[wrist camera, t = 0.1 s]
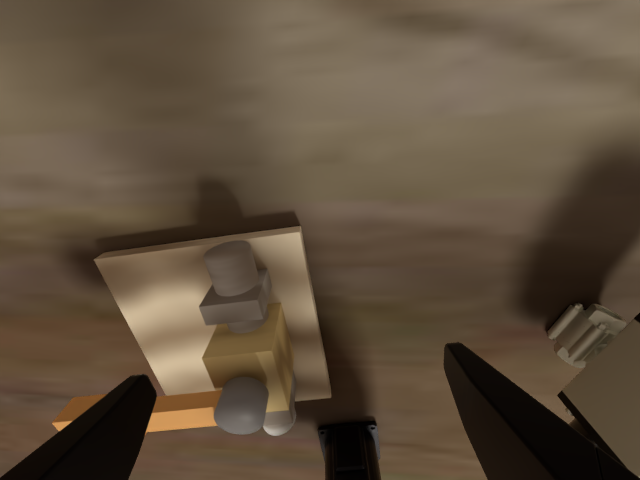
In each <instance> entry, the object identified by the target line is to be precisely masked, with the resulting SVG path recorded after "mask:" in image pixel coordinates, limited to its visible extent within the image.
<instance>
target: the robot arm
mask: <svg viewBox="0 0 640 480" xmlns="http://www.w3.org/2000/svg"><path fill="white" fill-rule="evenodd" d="M444 370H445V374H446V376H447V379H448V382H449V385H450V388H451V391H452V394H453V397H454V400H455V403H456V406H457V409H458V412H459V414H460V417H461V420H462V423H463V426H464V428H465V431H466V433H467V435H468V438H469V440H470V442H471V444H472V446H473V448H474V451H475V453H476V455H477V457H478V459H479V462H480V464H481V466H482V468H483V470H484V472H485V475H486V477H487V479H488V480H640V478H639V477H638V476H637V475H635V474H634V473H632V472H631V471H630V470H628V469H627V468H626V467H624V466H623V465H622V464H620V463H619V462H618V461H616V460H615V459H614V458H612V457H611V456H610V455H608V454H607V453H606V452H604V451H603V450H602V449H600V448H599V447H595V445H594V443H592V442H591V441H590V440H588V439H587V438H586V437H584V436H583V435H582V434H580V433H579V432H578V431H576V430H575V429H574V428H573V427H571V426H570V425H569V424H567V423H566V422H565V421H563V420H562V419H561V418H559V417H558V416H557V415H555V414H554V413H553V412H551V411H550V410H549V409H547V408H546V407H545V406H544V405H542V404H541V403H540V402H538V401H537V400H536V399H534V398H533V397H532V396H530V395H529V394H528V393H526V392H525V391H524V390H522V389H521V388H520V387H518V386H517V385H516V384H515V383H513V382H512V381H511V380H509V379H508V378H507V377H505V376H504V375H503V374H501V373H500V372H499V371H497V370H496V369H495V368H493V367H492V366H491V365H489V364H488V363H487V362H486V361H484V360H483V359H482V358H480V357H479V356H478V355H476V354H475V353H474V352H472V351H471V350H470V349H468V348H467V347H466V346H464V345H463V344H462V343H459V342H457V343H447V344H446V345H445V348H444ZM156 397H157V394H156V390H155V388H154V387H153V385H152V383H151V381H150V379H149V377H148V376H147V375H146V374H139V375H132V376H130V377H129V378H127V379H126V380H125V381H123V382H122V383H121V384H120V385H118V386H117V387H116V388H114V389H113V390H112V391H111V392H109V393H108V394H107V395H105V396H104V397H103V398H102V399H100V400H99V401H98V402H97V403H95V404H94V405H93V406H91V407H90V408H89V409H88V410H86V411H85V412H84V413H82V414H81V415H80V416H79V417H77V418H76V419H75V420H73V421H72V422H71V423H70V424H68V425H67V426H66V427H65V428H63V429H62V430H61V431H59V432H58V433H57V434H56V435H54V436H53V437H52V438H50V439H49V440H48V441H47V442H45V443H44V444H43V445H41V446H40V447H39V448H38V449H36V450H35V451H34V452H32V453H31V454H30V455H29V456H27V457H26V458H25V459H24V460H22V461H21V462H20V463H18V464H17V465H16V466H15V467H13V468H12V469H11V470H9V471H8V472H7V473H6V474H4V475H3V476H2V477H0V480H128V479H129V476H130V474H131V471H132V469H133V467H134V464H135V462H136V459H137V457H138V454H139V451H140V448H141V446H142V442H143V439H144V436H145V433H146V430H147V427H148V424H149V421H150V418H151V415H152V411H153V408H154V405H155V402H156ZM318 435H319V439H320V444H321V448H322V452H323V456H324V461H325V480H381V476H380V469H379V463H378V460H379V459H380V450H379V439H378V429H377V424H376V423H375V422H363V423H352V424H341V425H331V426H321V427H319V428H318Z"/></svg>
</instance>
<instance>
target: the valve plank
mask: <svg viewBox="0 0 640 480" xmlns="http://www.w3.org/2000/svg"><path fill="white" fill-rule="evenodd" d="M94 261H95V263H96V265H97V267H98V269H99V271H100V272H101V274H102V276H103V278H104V280H105V282H106V284H107V286H108V287H109V289H110V291H111V293H112V295H113V297H114V299H115V301H116V302H117V304H118V306H119V308H120V310H121V312H122V314H123V315H124V317H125V319H126V321H127V323H128V325H129V327H130V329H131V330H132V332H133V334H134V336H135V338H136V340H137V342H138V344H139V345H140V347H141V349H142V351H143V353H144V355H145V357H146V359H147V360H148V362H149V364H150V366H151V368H152V370H153V372H154V374H155V375H156V377H157V379H158V381H159V383H160V385H161V387H162V389H163V390H164V392H165V394H166V396H169V395H178V394H188V393H198V392H208V391H217V390H222V388H223V386H224V384H225V383H226V382H227V381H229V380H231V379H233V378H236V377H250V378H254V379H256V380H259V381H260V382H262V383H263V384H264V385H265V386H266V387H267V389H268V392H269V397H268V403H267V408H266V414H265V420H264V424H263V427H264V430H265V431H266V432H267V433H268V434H270V435H274V436H278V435H282V434H284V433H286V432H287V431H289V430H290V429H291V428H292V426H293V425H294V423H295V420H296V411H295V407H294V405H295V401H304V400H314V399H324V398H331V385H330V380H329V374H328V369H327V364H326V358H325V353H324V348H323V342H322V337H321V332H320V326H319V321H318V316H317V310H316V305H315V300H314V294H313V289H312V284H311V278H310V273H309V267H308V262H307V257H306V251H305V246H304V241H303V235H302V230H301V226H295V227H288V228H280V229H273V230H266V231H258V232H251V233H243V234H236V235H229V236H221V237H214V238H206V239H199V240H192V241H184V242H177V243H170V244H162V245H155V246H147V247H140V248H133V249H125V250H118V251H111V252H104V253H102V254H101V255H100V256H98V257H97V258H95V259H94Z"/></svg>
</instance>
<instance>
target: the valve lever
mask: <svg viewBox="0 0 640 480" xmlns="http://www.w3.org/2000/svg"><path fill="white" fill-rule="evenodd" d="M105 395H107V394H102V395H92V396H83V397H73V398H72V400H71V401H70V402H69V403H68V404H67V406H66V407H65V408H64V409H63V410H62V412H61V413H60V414H59V415H58V416H57V418H56V419H55V420H54V421H53V422H52V424H53V425H54V426H55V427H56V428H57V430H58V431H61V430H62V429H63V428H65V427H66V426H67V425H68V424H70V423H71V422H72V421H73V420H75V419H76V418H77V417H79V416H80V415H81V414H82V413H84V412H85V411H86V410H88V409H89V408H90V407H91V406H93V405H94V404H95V403H97V402H98V401H99V400H100V399H102V398H103V397H104V396H105ZM268 397H269V392H268V389H267V387H266V386H265V385H264V384H263V383H262V382H260V381H259V380H256V379H254V378H250V377H236V378H233V379H231V380H229V381H227V382H226V383H225V384H224V386H223V388H222V390H217V391H208V392H198V393H188V394H178V395H169V396H159V397H156V402H155V405H154V408H153V411H152V415H151V418H150V421H149V424H148V427H147V430H146V433H147V432H154V431H164V430H175V429H185V428H196V427H206V426H217V425H218V426H219V427H220V428H222V429H223V430H225V431H227V432H230V433H234V434H250V433H253V432H256V431H257V430H259V429H260V428H261V427H262V426H263V424H264V420H265V414H266V408H267V403H268ZM146 433H145V435H146ZM144 437H145V436H144Z"/></svg>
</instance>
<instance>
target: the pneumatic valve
mask: <svg viewBox="0 0 640 480" xmlns="http://www.w3.org/2000/svg"><path fill="white" fill-rule="evenodd" d="M582 306H583V305H582V304H580V303H578V304H577V303H575V304H574V305H573V306H572V305H570V306H569V307H568V308H567V309H566V311H565V312H564V313H563V314H562V315H561V316H560V318H559V319H558V320H557V321H556V322H555V323H554V324H553V326H552V327H551V328H550V329H549V330H548V331H547V333H548V337H549V338H550V339H552V340H557V343H556V344H555V345H554V351H555V353H556V354H557V355H558V356H559V357H560V358H561V359H563V360H564V361H565V362H567V363H569V364H570V365H572V366H575V367H578V368H584V367H585V366H586V367H585V368H584V369H583V370H582V371H581V372H580V373H579V374H578V375H577V376H576V377H575V378H574V379H573V380H572V381H571V382H570V383H569V384H568V385H567V386H566V387H565V388H564V389H563V390H562V391H561V392H560V393H559V394H558V395H557V396H558V397H559V398H560V400H561V401H562V402H563V403H564V405H565V406H566V407H567V408H566V409H565V410H566V412H567V413H568V414H570V415H572V416H574V417H575V419H574V420H573V421H572V422H570V423H569V425H570V426H571V427H573V428H574V429H575V430H576V431H578V432H579V433H580V434H582V435H583V436H584V437H586V438H587V439H588V440H590V441H591V442H592V443H594V445H595V447H599V448H600V449H602V450H603V451H604V452H606V453H607V454H608V455H610V456H611V457H612V458H614V459H615V460H616V461H618V462H619V463H620V464H622V465H623V466H624V467H626V468H627V469H628V470H630V471H631V472H632V473H634V474H635V475H637V476H638V477H639V478H640V313H639V314H638V315H637V316H636V317H635V318H634V319H633V320H632V321H631V322H630V323H629V324H628V325H627V326H626V321H625V320H624V319H623V318H622V317H621V316H619V315H618V314H616V313H615V312H613V311H611V310H609V309H608V308H606V307H603V306H601V305H598V304H591V305H590V306H589V307H588V308H587V309H586V310H583V309H584V308H583V307H582ZM625 326H626V327H625ZM624 327H625V328H624ZM623 328H624V329H623ZM622 329H623V330H622ZM621 330H622V331H621Z"/></svg>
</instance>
